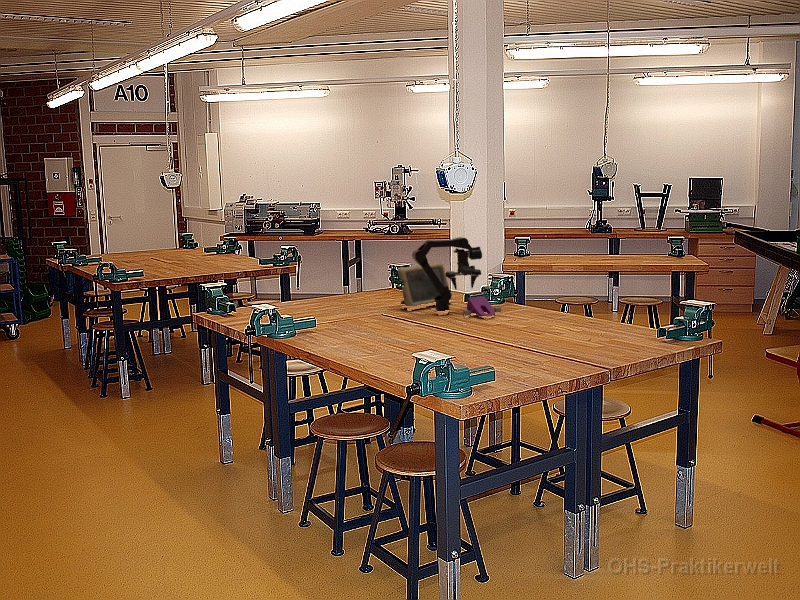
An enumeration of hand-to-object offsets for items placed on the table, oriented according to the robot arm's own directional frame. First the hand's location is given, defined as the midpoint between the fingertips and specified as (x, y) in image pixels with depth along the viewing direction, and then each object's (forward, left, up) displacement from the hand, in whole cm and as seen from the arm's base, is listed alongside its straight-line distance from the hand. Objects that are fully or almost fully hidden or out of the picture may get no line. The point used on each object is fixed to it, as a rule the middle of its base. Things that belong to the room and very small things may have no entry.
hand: (464, 289), depth 448 cm
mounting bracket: (+4, -17, -14) cm, 22 cm away
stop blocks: (+4, -17, -13) cm, 22 cm away
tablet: (-14, +30, -13) cm, 35 cm away
